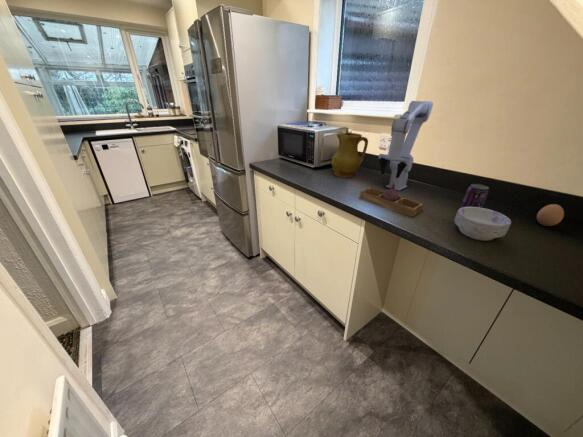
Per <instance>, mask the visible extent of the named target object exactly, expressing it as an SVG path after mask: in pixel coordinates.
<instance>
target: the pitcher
mask: <svg viewBox="0 0 583 437" xmlns="http://www.w3.org/2000/svg"><path fill="white" fill-rule="evenodd" d="M336 137H337V138H338V142H339V143H338V148H337V150H336V152H334V154H333V156H332V158H331V167H332V168H331V169H332V170H333V171H334V173H333V176H335V177H338V178H343V179H348V178H349V179H350V178H353V177H354V176H355V175H354V174H355V173H356V172H357V171H358V170H359V168H360V167H361V164H362V163H363V162H364V158H365V156H366V151H367V148H368V146H369V139H368V138H367V137H365V136H363V135H362V134H360V133H357V132H350V131H349V132H343V133H341V132H340V133H337V134H336ZM361 142H364V146H363V149H362V152H361V155H360V154H359V150H358V147H359V144H360V143H361Z"/></svg>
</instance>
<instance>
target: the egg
mask: <svg viewBox="0 0 583 437" xmlns="http://www.w3.org/2000/svg"><path fill="white" fill-rule="evenodd" d="M564 217H565V211H564V208H563V207H562V206H561V205H559V204H556V203H551V204H548V205H545V206H544V207H542V208H541V209H540V210H538V212H537V214H536V220H537V222H538V223H539V224H540V225H541V226H545V227H553V226H556V225H558V224H559V223H561V222H562V220H563V219H564Z"/></svg>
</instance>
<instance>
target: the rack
mask: <svg viewBox="0 0 583 437" xmlns="http://www.w3.org/2000/svg"><path fill="white" fill-rule="evenodd" d="M384 192H385V190H382V189H377V188H374V187H368V188H365V189H364V190H361V191H360V194H359V200H360V199H361V200H363V201H366V202H369V203H372V204H375V205H377V206H380V207H383V208H386V209H388V210H391V211H394V212H397V213H400V214H403V215H405V216H408V217H411V218H413V217H414V216H416V215H418V214H419V213H421V212H422V210H423V207H424V203H423V202H420V201H416V200H413V199H410V198H407V197H404V196H401V195H398V198H397V199H396V200H395V201H393V202H392V201H389V200H386V199H384V196H383V194H384Z"/></svg>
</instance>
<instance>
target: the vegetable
mask: <svg viewBox="0 0 583 437" xmlns="http://www.w3.org/2000/svg"><path fill="white" fill-rule="evenodd" d="M394 188H395V183H394V182H393V184H392V188H388V189H386V190H384V194H383V196H384V199H386V200H389V201H392V202H393V201H395V200H396V199H397V198H398V196H399V193H398V190H395V189H394Z"/></svg>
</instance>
